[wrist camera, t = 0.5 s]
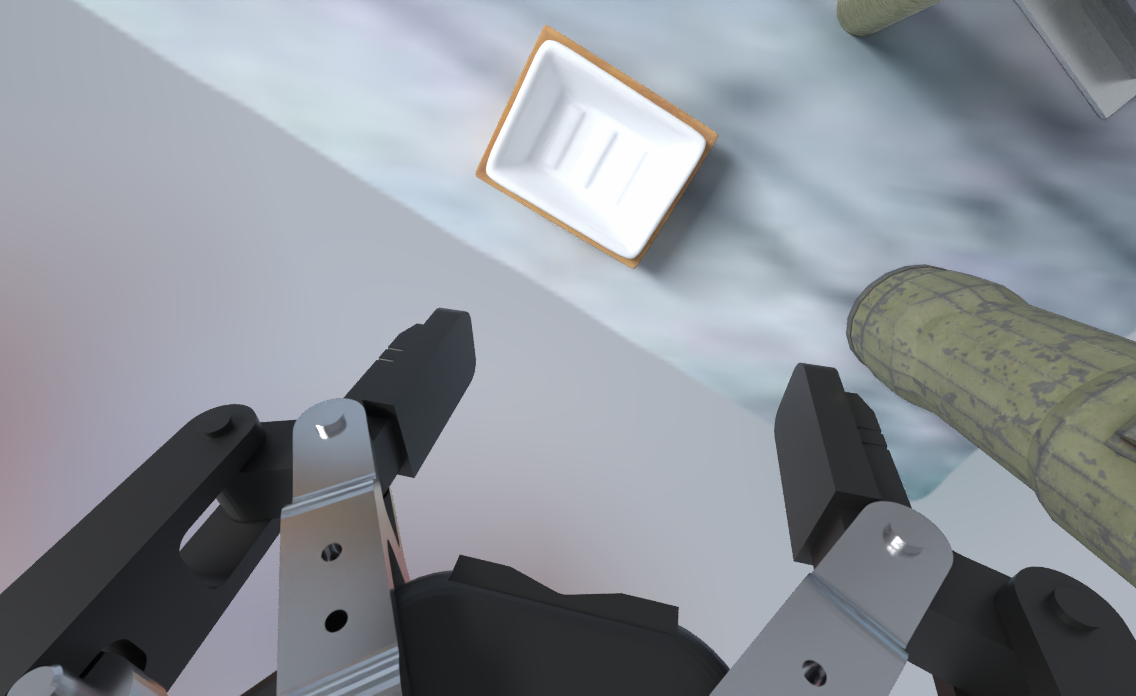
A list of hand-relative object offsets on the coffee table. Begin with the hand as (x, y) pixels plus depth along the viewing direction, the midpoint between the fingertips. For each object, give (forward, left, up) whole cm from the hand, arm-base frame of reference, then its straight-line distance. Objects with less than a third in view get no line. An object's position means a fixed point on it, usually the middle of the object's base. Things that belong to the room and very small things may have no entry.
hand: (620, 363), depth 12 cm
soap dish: (-5, -1, -26) cm, 26 cm away
